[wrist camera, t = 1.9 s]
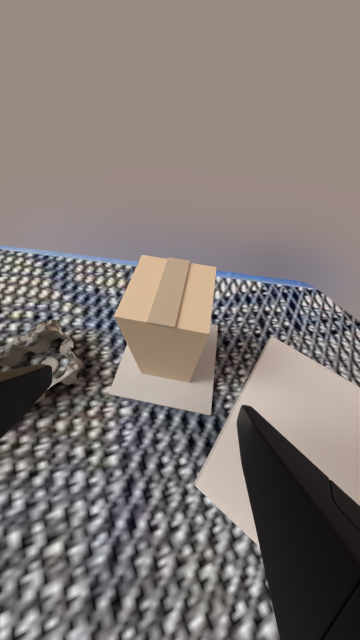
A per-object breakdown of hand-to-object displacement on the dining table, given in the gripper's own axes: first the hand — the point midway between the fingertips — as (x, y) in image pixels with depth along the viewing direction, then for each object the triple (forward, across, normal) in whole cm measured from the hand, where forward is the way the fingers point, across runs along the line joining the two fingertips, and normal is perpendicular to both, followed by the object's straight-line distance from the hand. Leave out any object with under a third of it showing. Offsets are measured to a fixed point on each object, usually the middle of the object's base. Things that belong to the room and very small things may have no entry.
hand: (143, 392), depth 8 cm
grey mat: (+13, 0, +4) cm, 14 cm away
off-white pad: (+9, -15, +9) cm, 19 cm away
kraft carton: (+13, 0, +4) cm, 14 cm away
